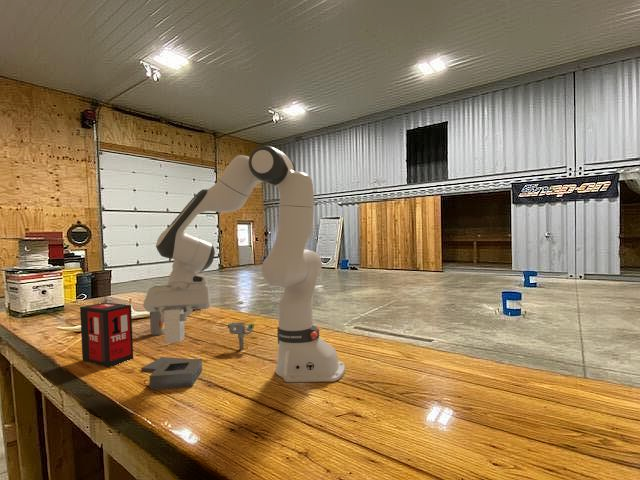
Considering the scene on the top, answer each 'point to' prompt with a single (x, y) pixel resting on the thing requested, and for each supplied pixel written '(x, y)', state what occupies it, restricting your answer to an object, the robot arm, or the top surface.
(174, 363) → the square socket
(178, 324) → the aluminium plug
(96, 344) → the cleaning product box
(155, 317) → the lotion bottle
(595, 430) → the top surface
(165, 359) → the rubber mat
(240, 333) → the mechanical component
